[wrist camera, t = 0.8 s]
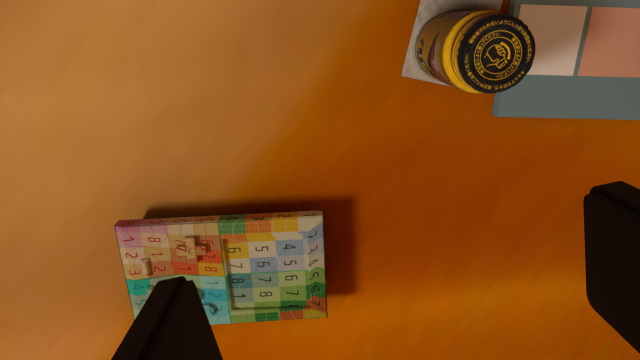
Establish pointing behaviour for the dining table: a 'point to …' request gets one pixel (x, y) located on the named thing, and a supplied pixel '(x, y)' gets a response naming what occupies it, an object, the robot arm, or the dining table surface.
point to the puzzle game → (231, 263)
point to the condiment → (469, 46)
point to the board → (578, 61)
